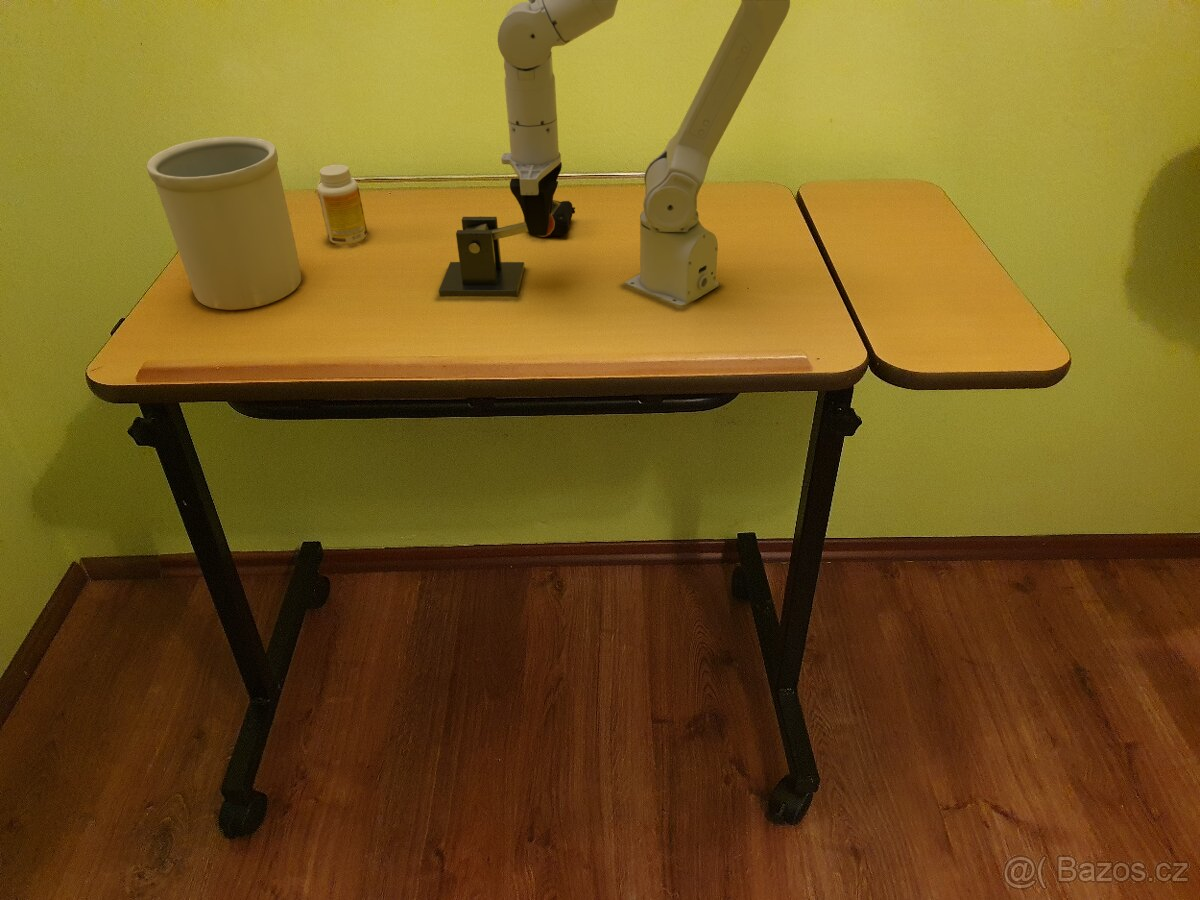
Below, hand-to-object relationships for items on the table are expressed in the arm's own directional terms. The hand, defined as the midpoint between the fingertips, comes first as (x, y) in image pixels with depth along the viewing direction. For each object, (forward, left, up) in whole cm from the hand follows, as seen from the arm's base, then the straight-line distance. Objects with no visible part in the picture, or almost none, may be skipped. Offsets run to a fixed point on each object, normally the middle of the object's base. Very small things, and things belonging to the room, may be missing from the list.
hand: (540, 228), depth 113 cm
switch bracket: (+6, +5, -8) cm, 11 cm away
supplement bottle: (+32, +9, -8) cm, 34 cm away
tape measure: (+11, -12, -8) cm, 18 cm away
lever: (+3, +2, -2) cm, 4 cm away
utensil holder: (+30, +26, -8) cm, 40 cm away
